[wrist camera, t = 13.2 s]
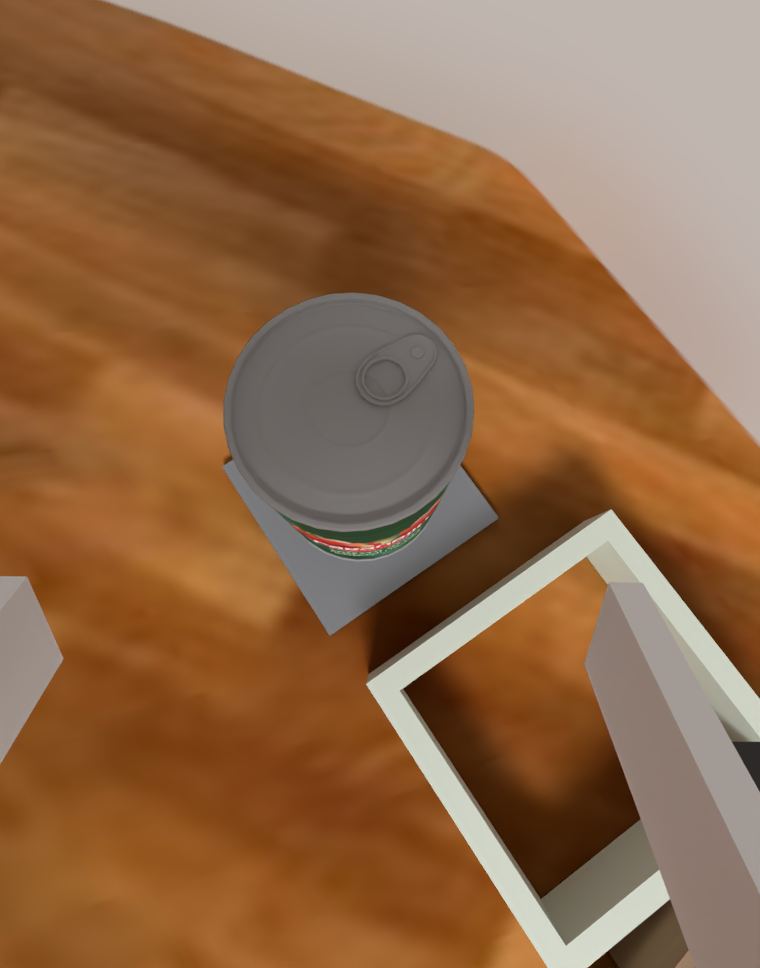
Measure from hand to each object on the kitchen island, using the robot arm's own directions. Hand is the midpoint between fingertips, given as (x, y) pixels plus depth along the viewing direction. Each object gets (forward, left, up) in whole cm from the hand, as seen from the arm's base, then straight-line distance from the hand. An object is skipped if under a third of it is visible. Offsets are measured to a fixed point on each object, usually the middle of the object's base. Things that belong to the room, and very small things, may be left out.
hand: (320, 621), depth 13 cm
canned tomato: (-5, +4, -14) cm, 16 cm away
